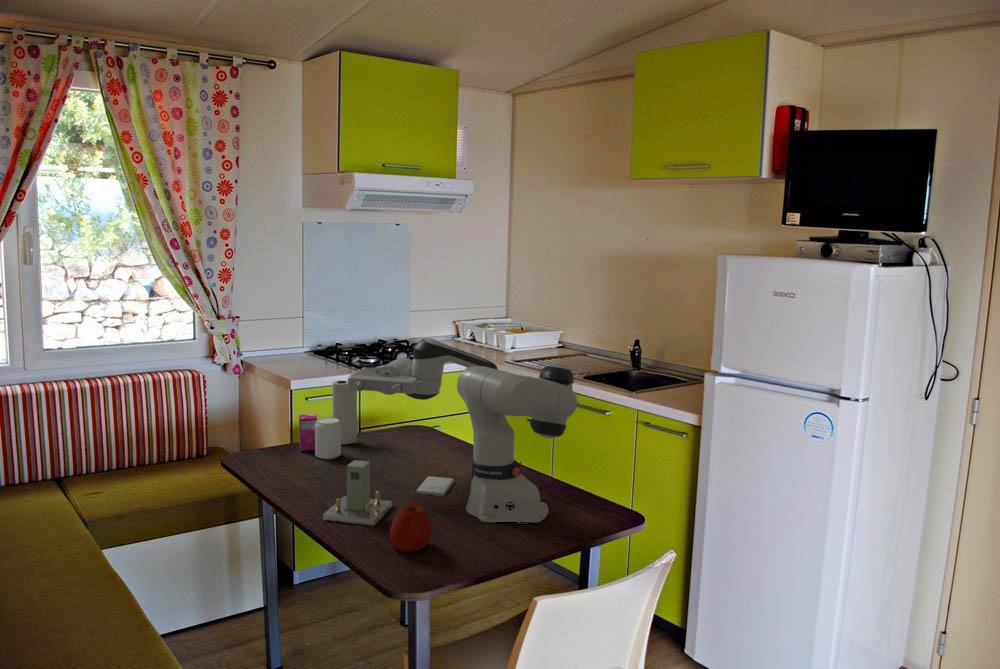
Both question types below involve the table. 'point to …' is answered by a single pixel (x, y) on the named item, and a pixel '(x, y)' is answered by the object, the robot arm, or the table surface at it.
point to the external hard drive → (435, 486)
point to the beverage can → (327, 438)
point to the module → (358, 485)
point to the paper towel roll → (345, 410)
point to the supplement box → (307, 432)
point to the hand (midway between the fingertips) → (374, 389)
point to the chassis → (366, 517)
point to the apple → (411, 529)
